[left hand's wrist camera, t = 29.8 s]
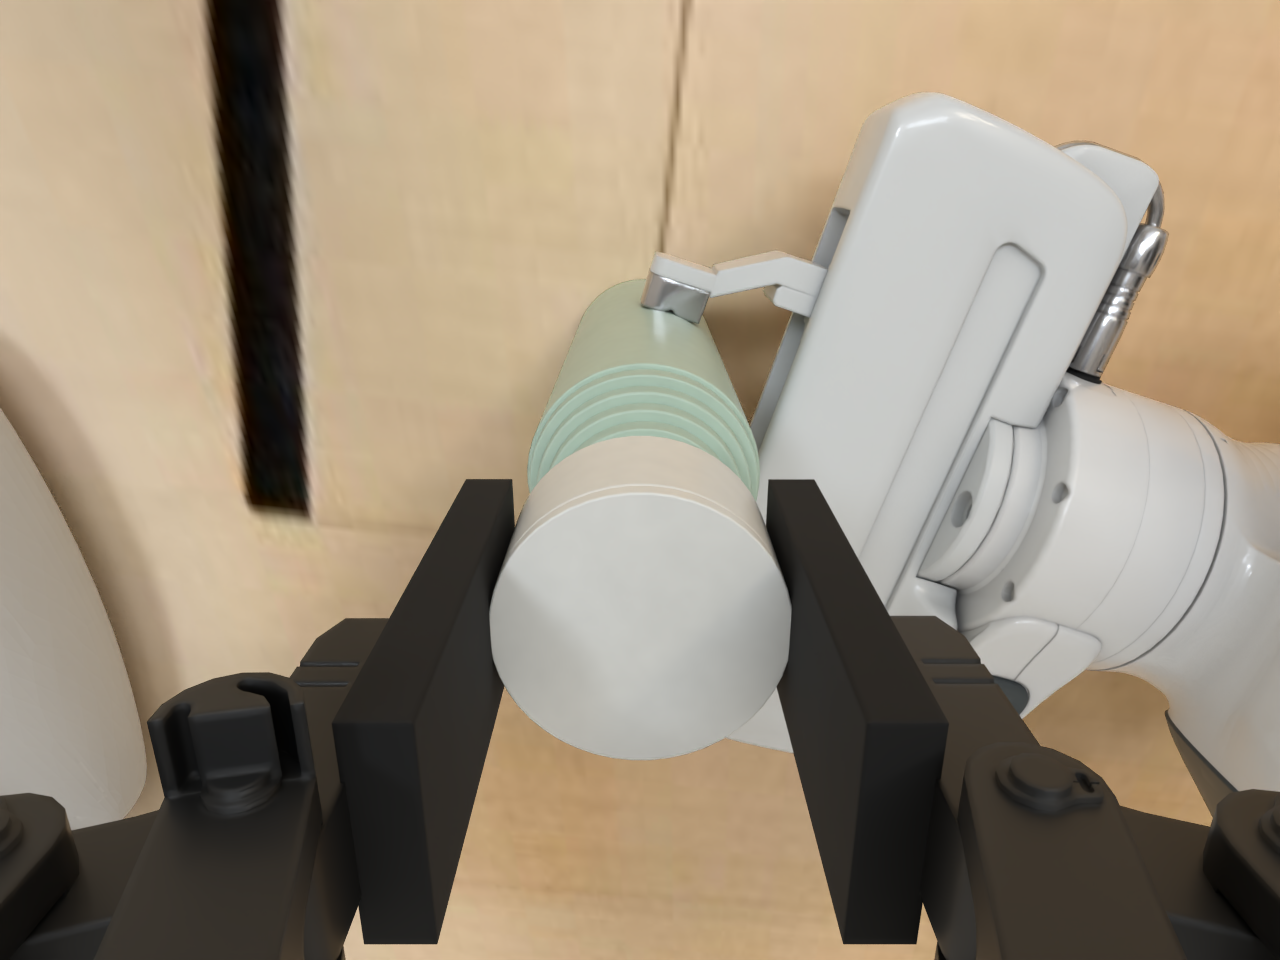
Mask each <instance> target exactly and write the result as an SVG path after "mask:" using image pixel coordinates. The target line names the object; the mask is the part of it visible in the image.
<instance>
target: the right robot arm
mask: <svg viewBox="0 0 1280 960" xmlns="http://www.w3.org/2000/svg"><path fill="white" fill-rule="evenodd" d="M1147 208H1148V212H1147V218H1146V222H1145V224H1143V223H1140V222H1141V220H1142V218H1143V216H1144V214H1145V212H1146V210H1147ZM1163 215H1164V194H1163V190H1162V186H1161V183H1160V181H1159V178H1158V175H1157V173H1156V172H1155V171H1154V170H1153V169H1152V168H1151V167H1149V166H1148V165H1147V164H1146V163H1145V162H1143V161H1142V160H1140V159H1139V158H1137V157H1134V156H1131V155H1128V154H1126V153H1123V152H1120V151H1117V150H1115V149H1112V148H1109V147H1106V146H1103V145H1101V144H1098V143H1095V142H1090V141H1071V142H1066V143H1062V144H1059V145H1057V146H1052V145H1050V144H1048V143H1047V142H1045V141H1043V140H1041V139H1040V138H1038V137H1036V136H1034V135H1033V134H1031V133H1029V132H1027V131H1025V130H1023V129H1021V128H1020V127H1018V126H1016V125H1014V124H1012V123H1010V122H1008V121H1006V120H1004V119H1002V118H1000V117H998V116H996V115H994V114H992V113H989V112H987V111H985V110H983V109H980V108H978V107H976V106H973V105H971V104H969V103H967V102H964V101H962V100H959V99H957V98H954V97H951V96H948V95H945V94H942V93H936V92H920V93H914V94H911V95H908V96H905V97H902V98H900V99H897V100H895V101H893V102H891V103H889V104H887V105H885V106H883V107H881V108H880V109H878V110H876V111H874V112H872V113H871V114H870V115H869V116H868V117H867V118H866V119H865V121H864V123H863V125H862V127H861V130H860V132H859V135H858V137H857V140H856V143H855V145H854V148H853V151H852V153H851V156H850V159H849V161H848V164H847V167H846V169H845V172H844V175H843V177H842V180H841V183H840V185H839V188H838V191H837V193H836V196H835V199H834V201H833V204H832V207H831V209H830V212H829V215H828V217H827V220H826V223H825V225H824V228H823V231H822V233H821V236H820V239H819V241H818V244H817V247H816V249H815V252H814V255H813V257H812V260H811V261H809V260H806V259H803V258H800V257H797V256H794V255H791V254H788V253H784V252H781V251H778V250H774V251H769V252H765V253H761V254H756V255H752V256H748V257H743V258H739V259H735V260H730V261H726V262H721V263H717V264H713V266H712V268H709V267H706V266H703V265H700V264H697V263H694V262H691V261H688V260H685V259H682V258H678V257H675V256H672V255H669V254H666V253H661V252H656V251H655V253H654V256H653V260H652V263H651V266H650V269H649V272H648V276H647V279H646V283H645V286H644V289H643V293H642V296H641V302H640V303H641V304H642V305H643V306H646V307H648V308H650V309H653V310H657V311H663V312H665V311H669V310H672V311H673V312H674V314H675V315H676V316H678V317H680V318H682V319H684V320H687V321H691V322H694V323H697V324H699V322H700V320H701V317H702V314H703V311H704V309H705V306H706V303H707V300H708V298H709V297H710V298H712V297H717V296H722V295H727V294H731V293H736V292H741V291H746V290H751V289H755V288H760V287H764V289H763V292H764V295H765V296H766V297H767V298H768V299H769V300H770V301H771V302H772V303H773V304H774V305H775V306H777V307H780V308H783V309H786V310H789V311H792V313H791V316H790V319H789V321H788V324H787V327H786V329H785V332H784V335H783V337H782V340H781V343H780V345H779V348H778V351H777V353H776V356H775V359H774V361H773V364H772V367H771V369H770V372H769V375H768V377H767V380H766V383H765V385H764V388H763V391H762V393H761V396H760V399H759V401H758V404H757V407H756V409H755V412H754V415H753V417H752V420H751V423H750V425H749V426H750V428H751V431H752V434H753V436H754V439H755V442H756V445H757V450H758V455H759V462H760V483H759V490H758V496H757V501H756V503H757V505H758V507H759V509H760V512H761V514H762V517H763V520H764V522H765V525H766V514H767V495H768V479H814V480H815V481H816V483H817V485H818V487H819V489H820V490H821V492H822V494H823V496H824V498H825V499H826V501H827V503H828V505H829V507H830V509H831V510H832V512H833V514H834V516H835V518H836V519H837V521H838V523H839V525H840V527H841V528H842V530H843V532H844V534H845V536H846V537H847V539H848V541H849V543H850V545H851V547H852V548H853V550H854V552H855V554H856V556H857V557H858V559H859V561H860V563H861V565H862V566H863V568H864V570H865V572H866V574H867V575H868V577H869V579H870V581H871V583H872V585H873V586H874V588H875V590H876V592H877V594H878V595H879V597H880V599H881V601H882V603H883V604H884V606H885V608H886V610H887V612H888V613H889V615H890V616H936V617H938V618H939V619H941V620H942V621H944V622H945V623H947V624H948V625H950V626H951V627H953V628H954V629H955V630H957V631H958V632H960V633H961V634H963V635H964V636H965V637H966V638H967V640H968V641H969V643H970V644H971V646H972V647H973V649H974V650H975V652H976V653H977V654H978V656H979V657H980V659H981V664H984V665H985V666H986V668H987V669H988V670H989V672H990V673H991V675H992V676H993V678H994V683H995V684H998V685H999V686H1000V688H1001V689H1002V691H1003V692H1004V694H1005V695H1006V697H1007V698H1008V700H1009V701H1010V702H1011V704H1012V705H1013V707H1014V708H1015V710H1016V711H1017V713H1018V714H1019V715H1020V717H1021V718H1022V719H1023V718H1024V717H1025V716H1026V715H1028V714H1029V713H1030V712H1031V711H1032V710H1033V709H1035V708H1036V707H1037V706H1038V705H1039V704H1040V703H1042V702H1043V701H1044V700H1046V699H1047V698H1048V697H1049V696H1051V695H1052V694H1053V693H1054V692H1056V691H1057V690H1058V689H1060V688H1061V687H1063V686H1064V685H1065V684H1067V683H1068V682H1070V681H1071V680H1072V679H1074V678H1075V677H1077V676H1078V675H1079V674H1081V673H1082V672H1083V671H1084V670H1092V671H1109V672H1120V673H1126V674H1129V675H1133V676H1136V677H1139V678H1141V679H1143V680H1145V681H1147V682H1148V683H1150V684H1151V685H1153V686H1154V687H1155V688H1157V689H1158V690H1159V691H1161V692H1162V693H1163V694H1164V695H1165V696H1166V698H1167V700H1168V702H1169V709H1168V710H1166V711H1165V717H1166V720H1167V724H1168V727H1169V730H1170V732H1171V735H1172V737H1173V740H1174V742H1175V744H1176V746H1177V748H1178V750H1179V752H1180V755H1181V757H1182V759H1183V761H1184V763H1185V765H1186V767H1187V769H1188V771H1189V772H1190V774H1191V776H1192V778H1193V780H1194V782H1195V784H1196V786H1197V788H1198V790H1199V792H1200V794H1201V795H1202V797H1203V799H1204V801H1205V803H1206V805H1207V807H1208V809H1209V811H1210V813H1211V815H1212V817H1213V816H1214V813H1215V809H1216V806H1217V804H1218V803H1219V802H1220V801H1221V800H1222V799H1224V798H1225V797H1226V796H1227V795H1228V794H1229V793H1233V792H1238V791H1244V790H1249V789H1258V790H1268V791H1277V792H1280V444H1276V443H1246V442H1240V441H1237V440H1234V439H1232V438H1230V437H1228V436H1226V435H1225V434H1224V433H1223V432H1222V431H1220V430H1219V429H1218V428H1217V427H1215V426H1214V425H1212V424H1211V423H1209V422H1208V421H1206V420H1204V419H1203V418H1201V417H1200V416H1198V415H1196V414H1193V413H1191V412H1189V411H1186V410H1183V409H1181V408H1178V407H1175V406H1171V405H1168V404H1165V403H1162V402H1159V401H1156V400H1153V399H1150V398H1147V397H1144V396H1141V395H1138V394H1135V393H1132V392H1129V391H1126V390H1123V389H1120V388H1117V387H1114V386H1111V385H1108V384H1106V383H1103V382H1102V381H1101V380H1099V379H1100V377H1101V375H1102V373H1103V371H1104V369H1105V367H1106V365H1107V364H1108V362H1109V360H1110V358H1111V356H1112V354H1113V352H1114V350H1115V348H1116V346H1117V344H1118V342H1119V340H1120V338H1121V336H1122V334H1123V331H1124V329H1125V327H1126V325H1127V319H1129V316H1130V314H1131V313H1130V310H1132V308H1133V306H1134V303H1133V302H1134V301H1136V298H1137V296H1138V292H1140V290H1141V288H1142V286H1143V285H1144V283H1145V281H1146V279H1147V278H1150V277H1151V275H1152V274H1153V272H1154V271H1155V269H1156V267H1157V265H1158V264H1159V262H1160V260H1161V257H1162V255H1163V253H1164V250H1165V247H1166V244H1167V240H1168V235H1169V233H1168V232H1167V231H1166V230H1164V229H1161V228H1160V227H1161V224H1162V220H1163ZM725 738H726V739H730V740H734V741H738V742H742V743H746V744H751V745H755V746H759V747H764V748H768V749H773V750H778V751H783V752H788V753H793V749H792V745H791V741H790V737H789V733H788V729H787V726H786V722H785V718H784V714H783V710H782V706H781V703H780V699H779V695H778V691H777V687H776V689H775V690H774V692H773V694H772V695H771V696H770V698H769V699H768V700H767V702H766V703H765V704H764V706H763V707H762V708H761V709H760V710H759V711H758V712H757V713H756V714H755V715H754V716H753V717H752V718H751V719H750V720H749V721H748V722H747V723H745V724H744V725H743V726H742V727H740V728H739V729H738V730H737V731H735V732H733V733H732V734H730V735H729V736H727V737H725Z"/></svg>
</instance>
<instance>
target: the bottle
mask: <svg viewBox="0 0 1280 960" xmlns="http://www.w3.org/2000/svg"><path fill="white" fill-rule="evenodd" d="M645 283H646V279H638V280H630V281H626V282H622V283H620V284H617V285H615V286H613V287H611V288H609V289H608V290H606V291H605V292H603V293H602V294H601V295H599V296H598V297H597V298H596V299H595V300H594V301H593V302H592V303H591V305H590V306H589V307H588V309H587V310H586V312H585V314H584V315H583V317H582V320H581V322H580V324H579V327H578V329H577V332H576V334H575V337H574V339H573V342H572V344H571V346H570V349H569V351H568V354H567V356H566V359H565V361H564V364H563V366H562V369H561V371H560V374H559V376H558V379H557V381H556V383H555V386H554V388H553V391H552V393H551V396H550V398H549V401H548V403H547V406H546V408H545V411H544V413H543V415H542V418H541V420H540V423H539V425H538V428H537V430H536V433H535V435H534V438H533V440H532V444H531V448H530V452H529V459H528V467H527V470H528V487H529V493H531V491H532V490H533V489H534V487H535V486H536V485H537V484H538V482H539V481H540V480H541V479H542V478H543V477H544V476H545V475H546V474H547V473H548V472H549V471H550V470H551V469H552V468H553V467H554V466H555V465H557V464H558V463H559V462H561V461H562V460H563V459H565V458H566V457H568V456H570V455H571V454H573V453H575V452H577V451H578V450H580V449H582V448H585V447H587V446H590V445H592V444H595V443H597V442H601V441H605V440H609V439H613V438H619V437H627V436H654V437H662V438H669V439H672V440H676V441H680V442H684V443H687V444H689V445H692V446H694V447H697V448H699V449H701V450H703V451H705V452H707V453H708V454H710V455H712V456H714V457H715V458H717V459H718V460H719V461H721V462H722V463H723V464H725V465H726V466H727V467H729V468H730V469H731V470H732V471H733V472H734V473H735V474H736V475H737V476H738V477H739V478H740V479H741V481H742V482H743V483H744V484H745V486H746V487H747V488H748V490H749V491H750V492H751V494H752V496H753V498H754V499H755V501H757V496H758V490H759V483H760V462H759V455H758V450H757V445H756V442H755V439H754V436H753V434H752V431H751V428H750V426H749V424H748V421H747V419H746V416H745V414H744V412H743V409H742V407H741V404H740V402H739V400H738V397H737V395H736V392H735V390H734V388H733V385H732V383H731V380H730V378H729V376H728V373H727V371H726V368H725V366H724V364H723V361H722V359H721V356H720V354H719V352H718V349H717V347H716V344H715V342H714V340H713V337H712V335H711V332H710V330H709V328H708V325H707V323H706V320H705V318H704V316H703V315H702V317H701V320H700V322H699V324H697V323H694V322H691V321H687V320H684V319H682V318H680V317H678V316H676V315H675V314H674V312H673V311H672V310H669V311H665V312H663V311H657V310H653V309H650V308H648V307H646V306H643V305H642V304H641V303H640V302H641V296H642V293H643V289H644V286H645Z"/></svg>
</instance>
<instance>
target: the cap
mask: <svg viewBox="0 0 1280 960" xmlns="http://www.w3.org/2000/svg"><path fill="white" fill-rule="evenodd" d="M791 611H792V605H791V601H790V596H789V592H788V588H787V586H786V583H785V580H784V577H783V574H782V571H781V568H780V565H779V563H778V560H777V557H776V554H775V551H774V548H773V545H772V542H771V540H770V537H769V534H768V531H767V528H766V525H765V522H764V520H763V517H762V514H761V512H760V509H759V507H758V505H757V503H756V501H755V499H754V498H753V496H752V494H751V492H750V491H749V490H748V488H747V487H746V486H745V484H744V483H743V482H742V481H741V479H740V478H739V477H738V476H737V475H736V474H735V473H734V472H733V471H732V470H731V469H730V468H729V467H727V466H726V465H725V464H723V463H722V462H721V461H719V460H718V459H717V458H715V457H714V456H712V455H710V454H708V453H707V452H705V451H703V450H701V449H699V448H697V447H694V446H692V445H689V444H687V443H684V442H680V441H676V440H672V439H669V438H662V437H654V436H627V437H619V438H613V439H609V440H605V441H601V442H597V443H595V444H592V445H590V446H587V447H585V448H582V449H580V450H578V451H577V452H575V453H573V454H571V455H570V456H568V457H566V458H565V459H563V460H562V461H561V462H559V463H558V464H557V465H555V466H554V467H553V468H552V469H551V470H550V471H549V472H548V473H547V474H546V475H545V476H544V477H543V478H542V479H541V480H540V481H539V482H538V484H537V485H536V486H535V487H534V489H533V490H532V491H531V493H530V495H529V497H528V498H527V500H526V502H525V504H524V505H523V508H522V510H521V513H520V515H519V518H518V521H517V524H516V526H515V529H514V532H513V535H512V538H511V541H510V544H509V547H508V550H507V553H506V555H505V558H504V561H503V564H502V567H501V570H500V573H499V576H498V579H497V582H496V584H495V587H494V590H493V595H492V599H491V603H490V607H489V618H490V634H491V648H492V657H493V661H494V664H495V666H496V669H497V671H498V674H499V677H500V678H501V680H502V682H503V684H504V686H505V688H506V689H507V691H508V693H509V694H510V696H511V697H512V698H513V700H514V701H515V702H516V704H517V705H518V706H519V707H520V708H521V709H522V711H523V712H524V713H525V714H526V715H527V716H528V717H529V718H530V719H531V720H532V721H534V722H535V723H536V724H537V725H539V726H540V727H541V728H542V729H544V730H545V731H546V732H548V733H550V734H551V735H553V736H554V737H556V738H558V739H559V740H561V741H563V742H565V743H567V744H569V745H572V746H574V747H576V748H578V749H581V750H584V751H587V752H590V753H593V754H597V755H601V756H606V757H610V758H617V759H626V760H656V759H665V758H671V757H676V756H680V755H685V754H689V753H692V752H694V751H697V750H700V749H703V748H706V747H708V746H710V745H712V744H714V743H716V742H718V741H721V740H722V739H724V738H725V737H727V736H729V735H730V734H732V733H733V732H735V731H737V730H738V729H739V728H740V727H742V726H743V725H744V724H745V723H747V722H748V721H749V720H750V719H751V718H752V717H753V716H754V715H755V714H756V713H757V712H758V711H759V710H760V709H761V708H762V707H763V706H764V704H765V703H766V702H767V700H768V699H769V698H770V696H771V695H772V694H773V692H774V690H775V689H776V687H777V685H778V683H779V681H780V679H781V678H782V676H783V673H784V670H785V668H786V665H787V662H788V655H789V642H790V628H791Z"/></svg>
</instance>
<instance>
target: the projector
mask: <svg viewBox="0 0 1280 960" xmlns="http://www.w3.org/2000/svg"><path fill="white" fill-rule="evenodd" d="M146 773H147V762H146V753H145V745H144V740H143V734H142V729H141V724H140V720H139V715H138V711H137V707H136V703H135V699H134V696H133V692H132V688H131V684H130V681H129V678H128V674H127V671H126V668H125V664H124V661H123V658H122V655H121V652H120V649H119V646H118V643H117V640H116V637H115V634H114V631H113V628H112V626H111V623H110V620H109V618H108V615H107V613H106V610H105V608H104V605H103V603H102V600H101V598H100V595H99V592H98V590H97V587H96V585H95V583H94V581H93V578H92V576H91V574H90V572H89V570H88V567H87V565H86V563H85V561H84V558H83V556H82V554H81V552H80V550H79V547H78V545H77V543H76V541H75V539H74V537H73V535H72V533H71V531H70V529H69V527H68V525H67V523H66V521H65V519H64V517H63V515H62V513H61V511H60V509H59V507H58V505H57V503H56V502H55V500H54V498H53V496H52V494H51V492H50V491H49V489H48V487H47V485H46V483H45V481H44V479H43V478H42V476H41V474H40V472H39V470H38V468H37V467H36V465H35V463H34V462H33V460H32V458H31V457H30V455H29V453H28V451H27V450H26V448H25V446H24V445H23V443H22V441H21V440H20V438H19V436H18V434H17V433H16V431H15V430H14V428H13V426H12V425H11V423H10V422H9V420H8V419H7V417H6V416H5V414H4V413H3V411H2V410H1V408H0V796H2V795H12V794H21V793H34V794H39V795H45V796H50V797H53V798H54V799H55V800H56V801H57V802H59V803H60V804H61V805H62V806H63V807H64V808H65V810H66V814H67V817H68V821H69V824H70V828H71V830H76V829H81V828H85V827H90V826H94V825H99V824H104V823H108V822H113V821H118V820H122V819H123V818H124V817H125V816H126V815H127V814H128V813H129V811H130V810H131V809H132V808H133V806H134V805H135V803H136V802H137V800H138V798H139V797H140V794H141V792H142V790H143V788H144V785H145V782H146Z"/></svg>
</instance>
